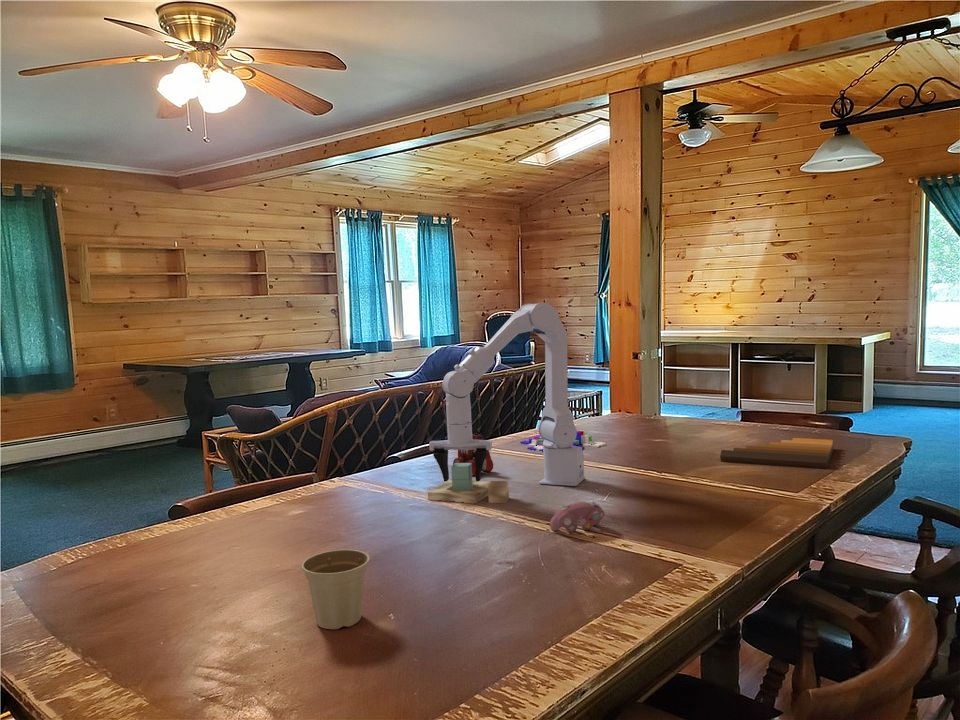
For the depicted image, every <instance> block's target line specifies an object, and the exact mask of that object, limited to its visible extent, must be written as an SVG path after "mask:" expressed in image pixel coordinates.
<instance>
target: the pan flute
mask: <svg viewBox="0 0 960 720" xmlns="http://www.w3.org/2000/svg"><path fill="white" fill-rule="evenodd" d="M833 451H834V440H833V439H824V438H823V439H822V438H821V439H819V438H804V437H803V438H802V437H801V438H799V437H792V440H791V439H786V440H785V439H781V440H780V441H779V442H778V441H769V444H768V443H767V444H766V443H757V445H746V446H745V448H743V447H733V449H731V450H727V449H721V451H720V456H719V457H720V458H719V460H720V462H722V463H738V464H751V465H767V466H780V467H781V466H782V467H783V466H784V467H795V468H809V469H810V468H812V469H826V470H827V469H828V466H829V463H830V462H831V461H830V460H831V457H832V454H833Z"/></svg>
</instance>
